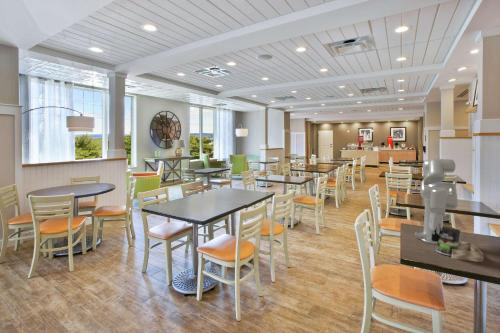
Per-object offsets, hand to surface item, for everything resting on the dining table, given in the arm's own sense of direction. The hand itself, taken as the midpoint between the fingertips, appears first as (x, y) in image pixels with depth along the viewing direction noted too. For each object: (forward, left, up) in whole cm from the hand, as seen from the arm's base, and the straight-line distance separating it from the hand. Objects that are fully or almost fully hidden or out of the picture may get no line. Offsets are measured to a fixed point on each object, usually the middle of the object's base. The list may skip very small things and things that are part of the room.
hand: (434, 240), depth 162 cm
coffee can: (+6, 0, -7) cm, 9 cm away
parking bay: (+13, 0, -7) cm, 15 cm away
